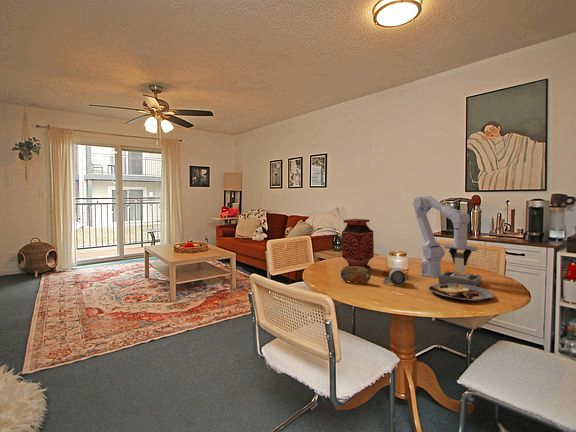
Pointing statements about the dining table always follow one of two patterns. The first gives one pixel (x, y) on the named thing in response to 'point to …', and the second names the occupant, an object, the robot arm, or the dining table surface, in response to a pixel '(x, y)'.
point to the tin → (355, 274)
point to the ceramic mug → (396, 277)
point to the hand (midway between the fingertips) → (460, 264)
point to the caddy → (460, 278)
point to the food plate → (460, 291)
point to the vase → (357, 243)
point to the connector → (459, 262)
